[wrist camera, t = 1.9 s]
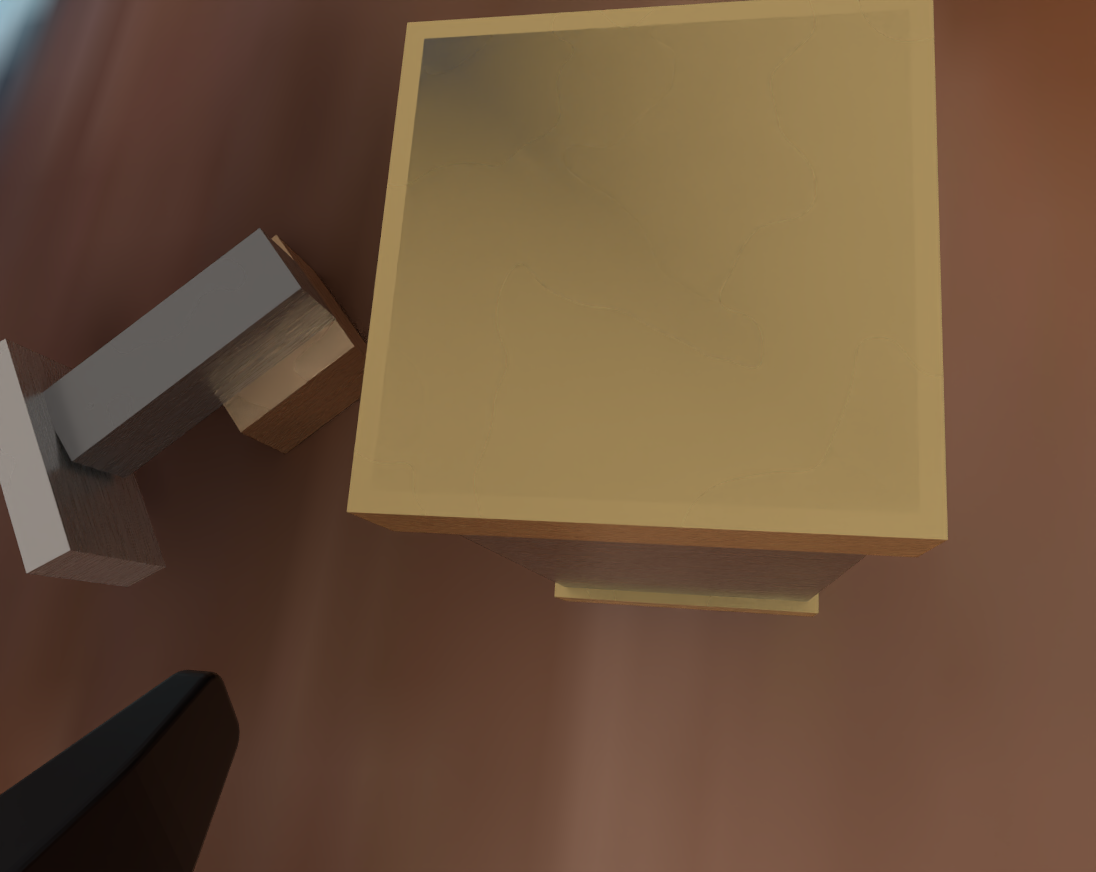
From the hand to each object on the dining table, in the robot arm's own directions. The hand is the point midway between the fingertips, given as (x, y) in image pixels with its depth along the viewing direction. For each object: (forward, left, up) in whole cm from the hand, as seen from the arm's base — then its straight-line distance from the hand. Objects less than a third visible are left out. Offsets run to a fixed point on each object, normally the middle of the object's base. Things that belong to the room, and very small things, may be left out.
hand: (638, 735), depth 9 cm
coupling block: (+4, +2, -11) cm, 12 cm away
